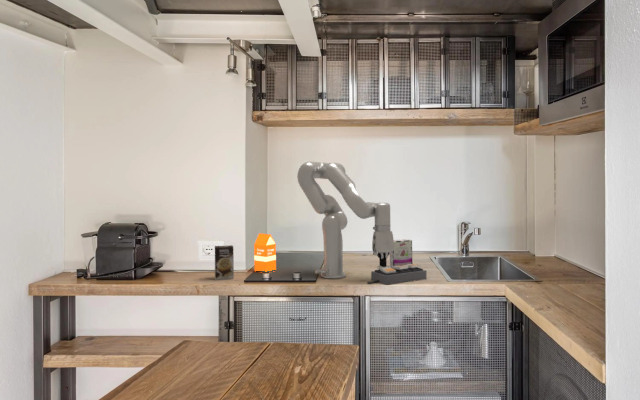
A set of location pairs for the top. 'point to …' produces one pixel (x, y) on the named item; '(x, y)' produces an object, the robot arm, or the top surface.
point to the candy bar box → (401, 253)
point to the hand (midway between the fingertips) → (383, 266)
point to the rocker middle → (399, 267)
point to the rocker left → (386, 269)
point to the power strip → (398, 276)
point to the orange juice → (265, 253)
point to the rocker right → (412, 265)
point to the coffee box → (224, 262)
